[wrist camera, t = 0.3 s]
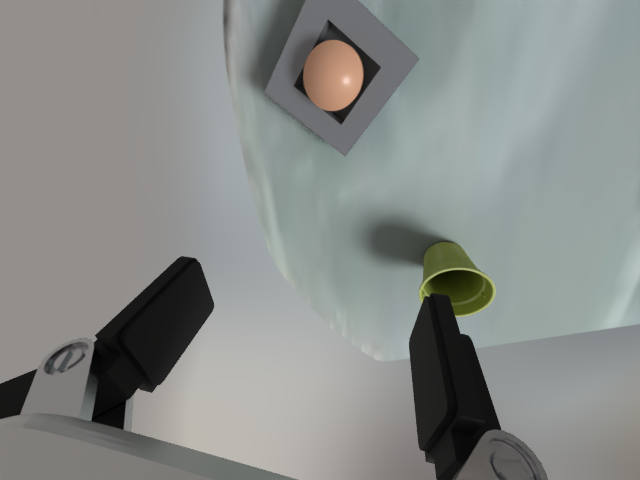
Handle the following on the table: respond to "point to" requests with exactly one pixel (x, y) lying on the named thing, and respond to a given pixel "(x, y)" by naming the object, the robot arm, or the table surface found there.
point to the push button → (333, 75)
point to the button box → (377, 57)
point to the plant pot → (455, 279)
